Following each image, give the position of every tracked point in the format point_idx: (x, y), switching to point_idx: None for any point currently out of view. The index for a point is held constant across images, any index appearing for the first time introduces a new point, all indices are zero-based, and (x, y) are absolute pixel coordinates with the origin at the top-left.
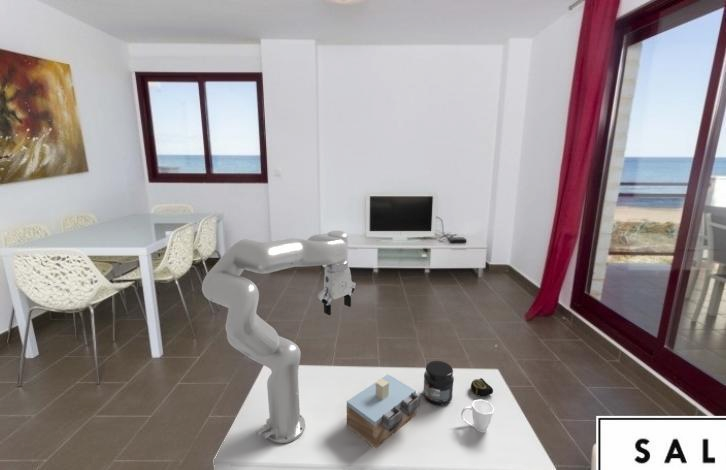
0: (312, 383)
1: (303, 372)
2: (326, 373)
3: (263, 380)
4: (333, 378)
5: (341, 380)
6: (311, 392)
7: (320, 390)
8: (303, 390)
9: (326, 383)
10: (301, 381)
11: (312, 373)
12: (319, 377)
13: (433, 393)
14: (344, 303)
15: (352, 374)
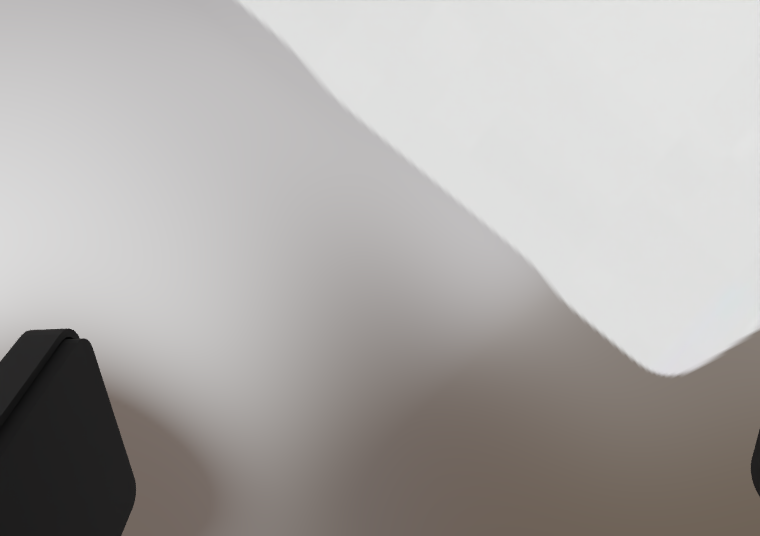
0: (562, 116)
1: (527, 248)
2: (419, 142)
3: (747, 331)
4: (417, 63)
5: (386, 2)
6: (633, 39)
7: (575, 13)
8: (655, 94)
9: (491, 50)
10: (599, 181)
11: (491, 203)
12: (484, 138)
13: None
14: (123, 509)
15: (275, 4)
